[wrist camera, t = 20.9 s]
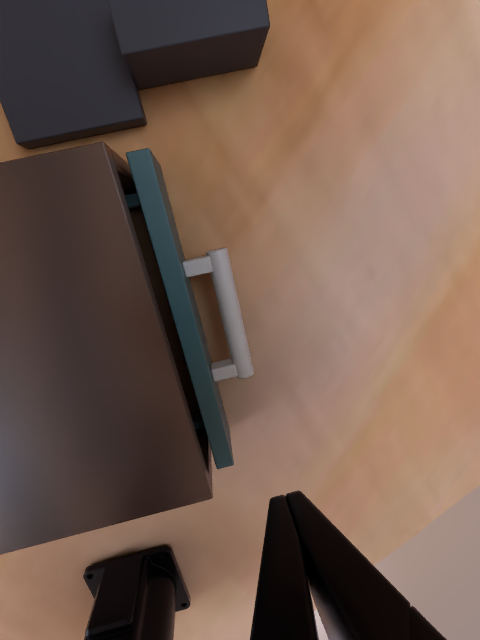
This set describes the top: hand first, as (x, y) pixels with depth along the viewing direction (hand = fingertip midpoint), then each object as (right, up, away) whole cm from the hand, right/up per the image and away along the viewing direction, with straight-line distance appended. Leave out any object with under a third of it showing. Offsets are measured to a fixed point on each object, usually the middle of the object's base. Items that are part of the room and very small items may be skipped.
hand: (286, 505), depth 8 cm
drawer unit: (-13, +3, +10) cm, 17 cm away
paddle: (-6, +17, +6) cm, 20 cm away
